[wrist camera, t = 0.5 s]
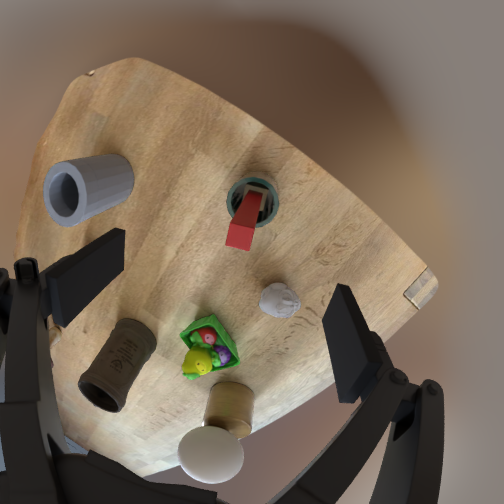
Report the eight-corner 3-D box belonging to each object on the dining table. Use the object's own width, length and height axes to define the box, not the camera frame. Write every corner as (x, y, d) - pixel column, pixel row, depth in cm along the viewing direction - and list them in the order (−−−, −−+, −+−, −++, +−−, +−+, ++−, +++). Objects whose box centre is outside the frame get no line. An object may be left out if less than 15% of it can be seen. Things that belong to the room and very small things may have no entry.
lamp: (207, 411, 65) (188, 487, 42) (187, 379, 60) (158, 464, 37) (260, 409, 63) (253, 492, 39) (246, 375, 58) (233, 472, 35)
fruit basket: (244, 347, 54) (238, 387, 44) (209, 358, 57) (198, 396, 46) (216, 306, 51) (203, 344, 41) (180, 320, 53) (162, 357, 43)
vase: (96, 151, 41) (44, 159, 28) (137, 157, 41) (89, 165, 28) (91, 199, 45) (43, 220, 32) (131, 208, 45) (85, 233, 32)
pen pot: (241, 166, 41) (232, 171, 33) (282, 176, 41) (284, 184, 33) (232, 206, 44) (222, 221, 35) (271, 216, 44) (271, 233, 35)
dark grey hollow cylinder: (119, 307, 54) (72, 371, 36) (162, 330, 55) (124, 402, 37) (113, 347, 60) (78, 404, 42) (150, 366, 61) (120, 428, 43)
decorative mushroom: (42, 310, 58) (11, 339, 44) (68, 321, 58) (37, 355, 44) (51, 338, 62) (24, 368, 48) (76, 350, 62) (50, 384, 48)
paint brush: (249, 180, 41) (224, 213, 21) (269, 184, 41) (264, 223, 21) (244, 199, 43) (216, 250, 22) (264, 204, 43) (254, 260, 22)
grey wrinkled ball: (299, 301, 49) (302, 324, 43) (262, 305, 50) (260, 328, 44) (296, 272, 47) (300, 292, 41) (257, 277, 48) (254, 297, 42)
